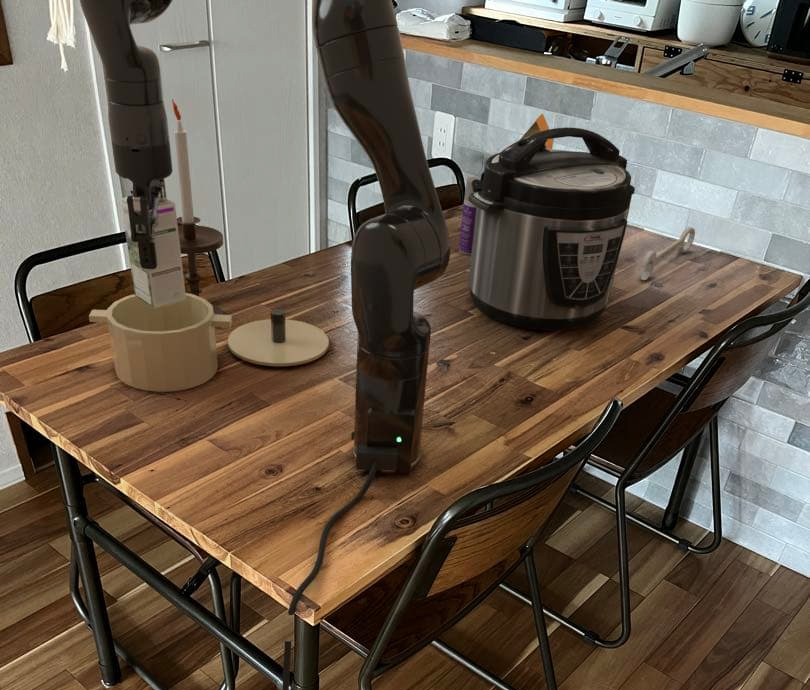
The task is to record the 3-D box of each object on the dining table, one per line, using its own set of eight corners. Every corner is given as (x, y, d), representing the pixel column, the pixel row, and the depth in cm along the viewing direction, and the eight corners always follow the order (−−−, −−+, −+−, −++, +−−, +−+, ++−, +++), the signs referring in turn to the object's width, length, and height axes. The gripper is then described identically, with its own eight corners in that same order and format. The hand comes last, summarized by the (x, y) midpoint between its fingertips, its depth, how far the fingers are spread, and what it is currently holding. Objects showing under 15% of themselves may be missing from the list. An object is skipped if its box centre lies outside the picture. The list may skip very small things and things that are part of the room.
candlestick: (179, 336, 143) (154, 109, 121) (156, 311, 150) (129, 93, 128) (238, 324, 148) (225, 104, 126) (213, 301, 155) (196, 89, 133)
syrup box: (187, 300, 127) (177, 200, 118) (152, 309, 123) (139, 207, 114) (167, 288, 130) (156, 190, 121) (132, 296, 126) (118, 196, 117)
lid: (327, 371, 136) (328, 336, 132) (222, 367, 135) (219, 331, 131) (329, 327, 149) (330, 293, 145) (233, 323, 148) (231, 289, 144)
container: (456, 253, 183) (464, 180, 173) (461, 246, 186) (469, 175, 177) (477, 256, 182) (486, 184, 173) (482, 249, 185) (491, 178, 176)
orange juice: (507, 204, 213) (519, 117, 200) (515, 194, 219) (527, 110, 207) (538, 209, 211) (552, 122, 199) (544, 199, 218) (558, 115, 205)
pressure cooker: (453, 330, 152) (474, 140, 132) (460, 272, 174) (479, 103, 154) (620, 347, 151) (666, 159, 131) (606, 287, 173) (643, 118, 153)
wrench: (645, 285, 175) (652, 256, 172) (635, 282, 176) (642, 253, 173) (691, 250, 194) (698, 224, 190) (681, 248, 195) (689, 222, 191)
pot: (229, 394, 128) (224, 336, 123) (87, 389, 127) (76, 330, 121) (239, 348, 141) (236, 293, 135) (110, 343, 139) (101, 287, 133)
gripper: (122, 122, 118) (138, 239, 128) (99, 149, 107) (117, 274, 117) (177, 125, 118) (188, 241, 128) (159, 152, 107) (173, 277, 117)
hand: (154, 257), depth 123 cm, fingers closed on syrup box, 8 cm apart
